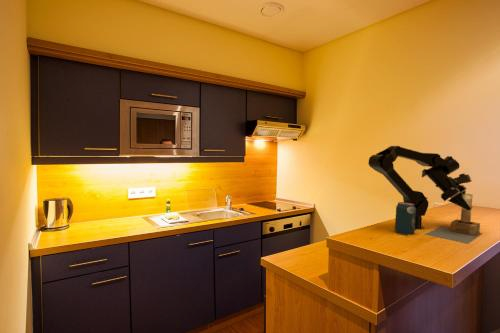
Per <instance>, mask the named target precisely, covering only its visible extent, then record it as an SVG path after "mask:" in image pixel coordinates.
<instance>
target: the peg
mask: <svg viewBox="0 0 500 333" xmlns="http://www.w3.org/2000/svg"><path fill="white" fill-rule="evenodd" d="M463 198H464V200H465V201H466V202H467V204H468V205H469V206H470V208H471V209H470V210H467V209H465V208H462V207H461V211H460V212H461V213H460V220H461V221H460V223H465V224H470V222H471V220H472V209H473V194H471V193H465V194H463Z"/></svg>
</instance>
